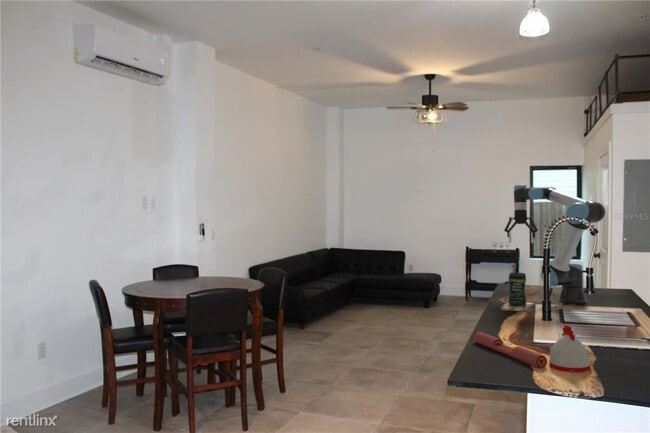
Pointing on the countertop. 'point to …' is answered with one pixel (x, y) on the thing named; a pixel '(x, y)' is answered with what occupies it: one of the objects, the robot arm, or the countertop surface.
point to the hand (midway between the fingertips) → (521, 242)
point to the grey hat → (569, 353)
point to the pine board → (517, 307)
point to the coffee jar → (517, 289)
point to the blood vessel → (511, 350)
